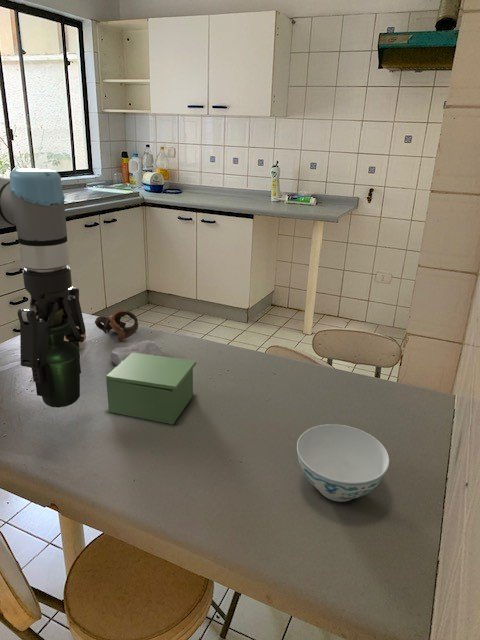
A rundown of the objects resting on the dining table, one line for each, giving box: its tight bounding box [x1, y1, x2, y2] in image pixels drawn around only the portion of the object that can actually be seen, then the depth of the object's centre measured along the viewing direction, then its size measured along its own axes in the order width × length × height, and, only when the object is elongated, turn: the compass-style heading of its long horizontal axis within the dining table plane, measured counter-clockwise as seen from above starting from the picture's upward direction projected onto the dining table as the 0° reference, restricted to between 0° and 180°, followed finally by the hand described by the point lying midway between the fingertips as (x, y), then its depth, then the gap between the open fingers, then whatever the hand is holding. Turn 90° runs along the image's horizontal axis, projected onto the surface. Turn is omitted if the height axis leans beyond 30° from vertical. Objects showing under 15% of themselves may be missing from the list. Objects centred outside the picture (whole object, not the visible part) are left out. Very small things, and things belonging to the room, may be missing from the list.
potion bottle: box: [38, 309, 81, 408], centre depth 84 cm, size 8×8×18 cm
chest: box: [105, 368, 194, 425], centre depth 100 cm, size 15×12×8 cm
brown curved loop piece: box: [94, 309, 139, 342], centre depth 133 cm, size 12×10×8 cm
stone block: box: [110, 339, 165, 367], centre depth 118 cm, size 12×5×10 cm
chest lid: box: [105, 353, 197, 390], centre depth 98 cm, size 15×12×1 cm
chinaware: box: [296, 423, 390, 503], centre depth 78 cm, size 15×15×8 cm
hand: (60, 383), depth 86 cm, fingers closed on potion bottle, 8 cm apart
